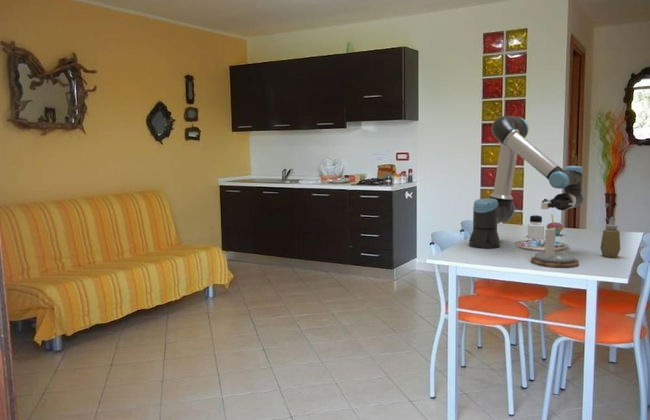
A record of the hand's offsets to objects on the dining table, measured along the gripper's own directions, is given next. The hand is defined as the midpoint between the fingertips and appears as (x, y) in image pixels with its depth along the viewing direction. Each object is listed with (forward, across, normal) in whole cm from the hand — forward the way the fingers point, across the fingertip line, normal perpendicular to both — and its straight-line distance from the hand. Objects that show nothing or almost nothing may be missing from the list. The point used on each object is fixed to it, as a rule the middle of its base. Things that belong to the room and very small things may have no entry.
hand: (543, 205), depth 236 cm
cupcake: (-77, +24, -25) cm, 84 cm away
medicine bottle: (-61, +29, -25) cm, 72 cm away
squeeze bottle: (-35, -17, -25) cm, 46 cm away
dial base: (-4, -4, -25) cm, 26 cm away
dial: (-4, -4, -23) cm, 24 cm away
